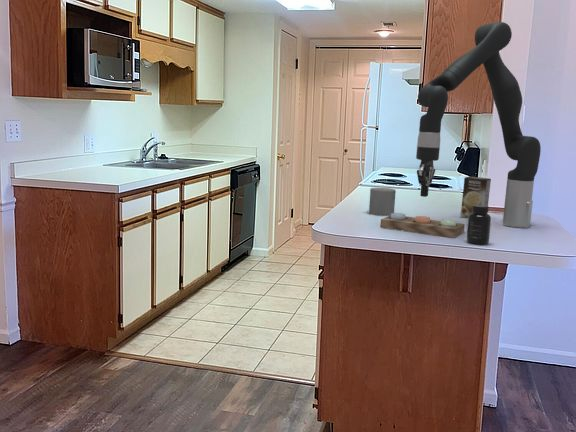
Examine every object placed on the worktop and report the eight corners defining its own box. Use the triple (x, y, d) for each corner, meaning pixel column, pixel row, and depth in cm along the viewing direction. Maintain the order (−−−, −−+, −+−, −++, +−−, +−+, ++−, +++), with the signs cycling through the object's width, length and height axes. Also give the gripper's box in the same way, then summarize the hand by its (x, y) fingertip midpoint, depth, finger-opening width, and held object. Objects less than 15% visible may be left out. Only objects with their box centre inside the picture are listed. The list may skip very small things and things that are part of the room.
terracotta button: (431, 225, 202) (432, 217, 201) (426, 227, 198) (427, 219, 197) (417, 223, 204) (418, 215, 204) (412, 225, 200) (413, 217, 200)
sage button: (457, 229, 197) (457, 220, 197) (453, 231, 193) (453, 222, 193) (442, 227, 200) (443, 218, 199) (438, 229, 196) (439, 220, 195)
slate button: (406, 222, 207) (407, 214, 206) (401, 224, 202) (402, 215, 202) (393, 220, 209) (394, 212, 209) (388, 222, 205) (388, 214, 204)
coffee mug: (396, 216, 227) (398, 191, 225) (371, 215, 227) (372, 190, 225) (389, 210, 240) (391, 186, 238) (365, 209, 240) (367, 186, 238)
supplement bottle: (471, 239, 189) (474, 203, 187) (492, 243, 184) (495, 205, 182) (462, 242, 183) (466, 205, 181) (483, 246, 179) (487, 208, 177)
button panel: (463, 232, 200) (464, 223, 199) (454, 238, 190) (454, 229, 189) (393, 222, 213) (393, 214, 213) (380, 227, 203) (380, 219, 202)
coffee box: (459, 217, 230) (463, 177, 227) (464, 215, 235) (468, 176, 232) (482, 220, 225) (486, 179, 222) (487, 218, 230) (491, 178, 227)
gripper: (433, 147, 189) (428, 199, 192) (445, 146, 200) (440, 195, 203) (411, 145, 193) (406, 197, 196) (424, 144, 204) (419, 193, 207)
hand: (424, 196), depth 199 cm, fingers closed
